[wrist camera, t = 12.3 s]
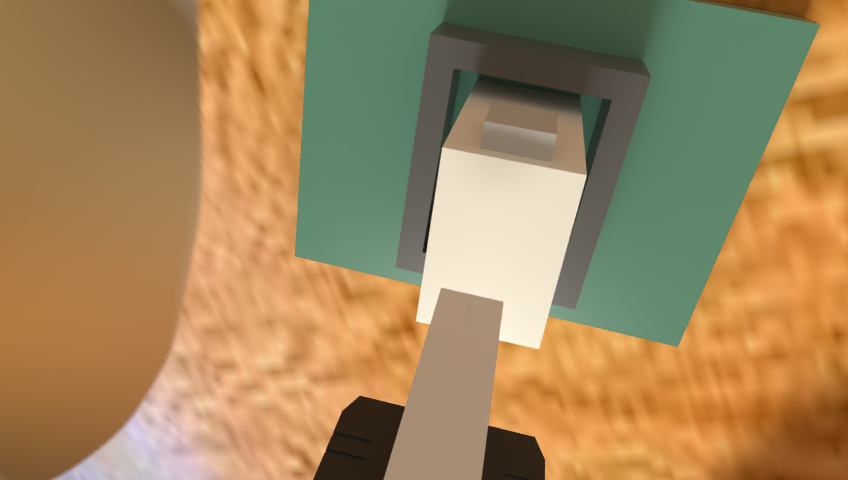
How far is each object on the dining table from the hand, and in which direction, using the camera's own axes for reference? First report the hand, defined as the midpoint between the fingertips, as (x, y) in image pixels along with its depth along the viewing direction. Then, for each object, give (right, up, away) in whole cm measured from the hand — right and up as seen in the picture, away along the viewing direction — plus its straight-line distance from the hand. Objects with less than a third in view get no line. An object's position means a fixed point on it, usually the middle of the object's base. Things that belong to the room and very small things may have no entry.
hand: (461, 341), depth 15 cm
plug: (+3, +6, +10) cm, 12 cm away
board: (+3, +6, +12) cm, 14 cm away
